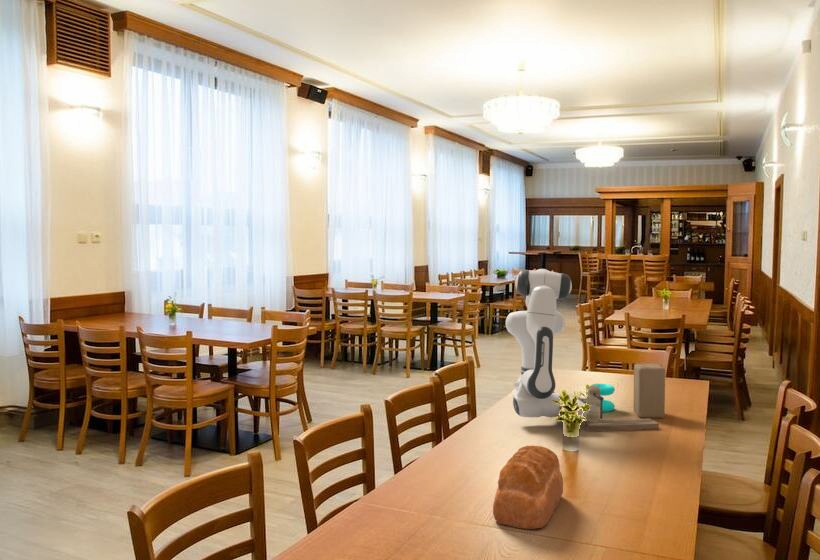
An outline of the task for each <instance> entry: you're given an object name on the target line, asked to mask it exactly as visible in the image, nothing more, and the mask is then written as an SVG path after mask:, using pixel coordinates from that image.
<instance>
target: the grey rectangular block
mask: <svg viewBox="0 0 820 560" xmlns="http://www.w3.org/2000/svg"><path fill="white" fill-rule="evenodd" d="M665 390H666V369H665V368H664V367H663V366H662V365H660V364H658V363H634V365H633V412H634V413H635V414H636V415H637V417H639V418H640V417H641V418H640V419H663V418H665V415H666V414H665V409H666V406H665V402H666V398H665V397H666V391H665Z"/></svg>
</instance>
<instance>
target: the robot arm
mask: <svg viewBox="0 0 820 560" xmlns="http://www.w3.org/2000/svg"><path fill="white" fill-rule="evenodd" d="M514 286H515V289H516V292H517V293H518V295H520V296H522V297H523V298H524V299H525V306H526V308H527V310H518V311H517V310H516V311H513V312H510V313H509V314H508V315H507V316H506V319H505V328H506V330H507V332H508V333H509V334H510V335H512V336H513V337H514V338H515V339H516V341H517V342H518V344H519V345H520V350H521V357H522V358H521V359H522V363H521V364H522V365H521V368H520V376H519V377H518V379H517V381H514V383H513V386H514V388H515V389H512V395H513V394H514V393H515V392H516V393H515V394H514V397H513V398H512V405H513V409H514V411H515V413H516V414H517V415H518V416H519V417H522V418H540V417H546V418H556V417H557V416H558V414H559V411H560V410H561V409H562V406H560V405H558V404H556V403H554V402H553V401H552V400H555V401H560V399H559V396H560V394H561V393H562V392H555V389H556V380H555V377H554V373H553V351H554V348H553V347H554V335H555V336H556V335H558V334H559V335H560V334H561V333H562V332H563V331H564V329H565V326H566V319H565V317H564V315H563V314H562V313H561V312H559V311H557V300H565V299H567V298H568V297H569V295H570V294H571V292H572V289H573V285H572V279H571V277H570V276H569V274H566V273H563V272H561V273H559V272H556V271H550V270H548V269H547V268H539V269H536V270H529V269H522V270H520V271H519V272H518V274H517V275H516V277H515V280H514ZM516 389H517V391H516ZM567 394H568V395H569V396H570V399H573V396H574V395H573V394H571V393H568V392H567ZM577 403H578V405H580V406H582V405H584V404H586V397H578V401H577ZM590 410H596V405H595V404H591V405H590ZM590 410H589V411H590ZM581 414H582V409H580V410H579V411H578V415H581ZM586 415H588V411H587V412H584V413H583V417H584V416H585V417H586ZM557 418H558V417H557Z"/></svg>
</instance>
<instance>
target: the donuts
mask: <svg viewBox="0 0 820 560" xmlns="http://www.w3.org/2000/svg"><path fill="white" fill-rule="evenodd" d="M590 386H598V387H600V396H602V397H603V396H610V395H613V394H614V393H615V391H616V388H615V387H614V386H613V385H611V384H608V383H594V384H591V385H590ZM614 409H615V403H614V402H612V401H611V400H608V399H604V400H603V404H602V413H604V412H605V413H607V412H612V411H614Z"/></svg>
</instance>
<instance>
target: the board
mask: <svg viewBox="0 0 820 560" xmlns="http://www.w3.org/2000/svg"><path fill="white" fill-rule="evenodd" d="M659 425H660V424H659V422H656V421H655V420H653V418H630V419H629V418H628V419H626V418H625V419H607V420H606V419H605V420H603V419H600V420H598V421H586V420H583V427H584V428H586V429H587V430H588V431H589V432H610V431H612V432H613V431H639V430H640V431H641V430H642V429H645V430H659V428H660V426H659ZM642 431H643V430H642Z"/></svg>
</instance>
